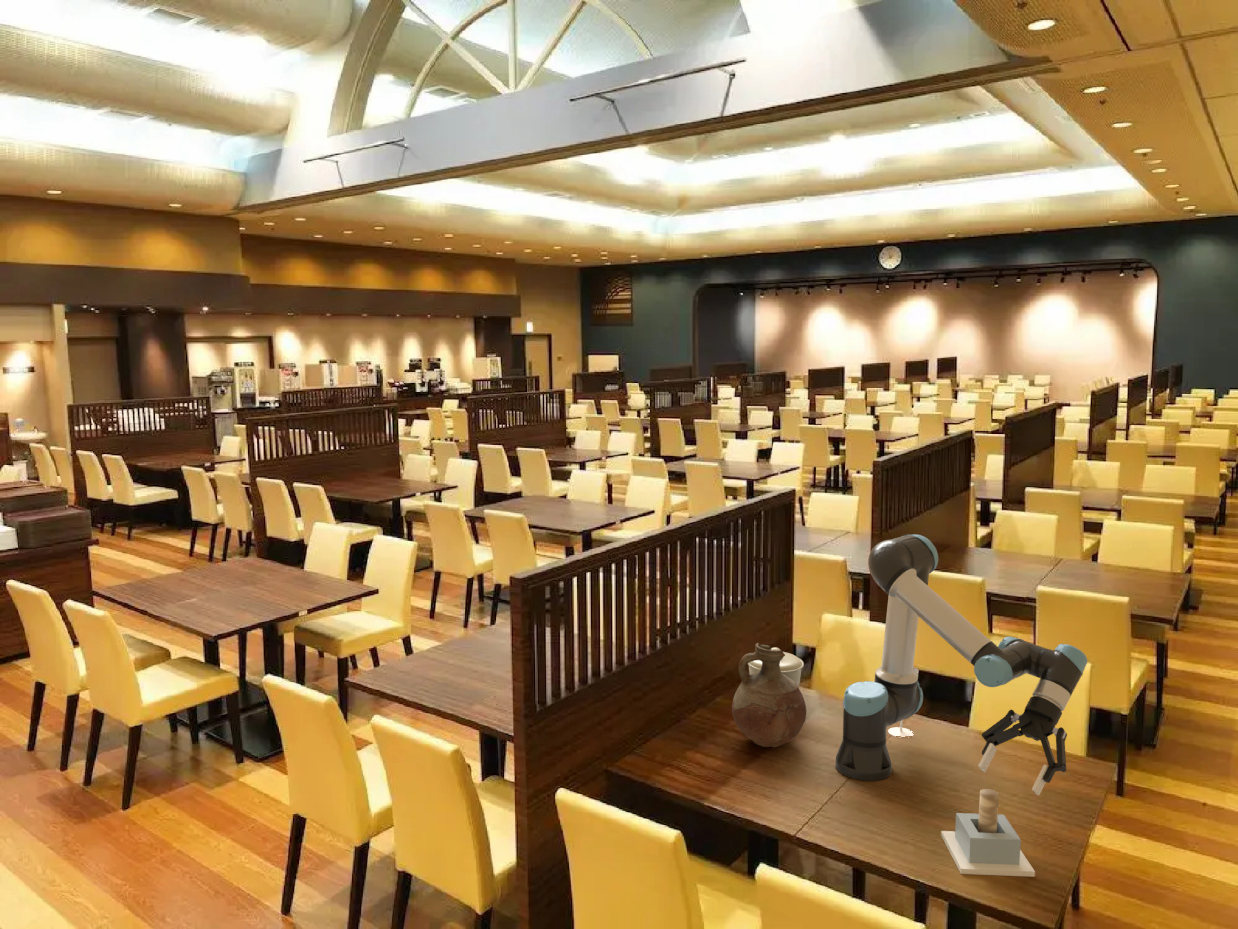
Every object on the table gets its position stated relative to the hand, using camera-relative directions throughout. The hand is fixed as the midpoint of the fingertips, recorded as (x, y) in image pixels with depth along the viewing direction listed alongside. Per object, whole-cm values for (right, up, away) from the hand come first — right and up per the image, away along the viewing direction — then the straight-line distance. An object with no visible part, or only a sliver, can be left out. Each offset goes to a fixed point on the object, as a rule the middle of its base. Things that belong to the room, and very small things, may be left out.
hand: (1007, 780), depth 211 cm
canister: (-40, -6, +82) cm, 91 cm away
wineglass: (-5, -8, +65) cm, 66 cm away
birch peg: (-6, -16, -1) cm, 17 cm away
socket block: (-6, -17, -1) cm, 18 cm away
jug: (-46, -9, +58) cm, 75 cm away
